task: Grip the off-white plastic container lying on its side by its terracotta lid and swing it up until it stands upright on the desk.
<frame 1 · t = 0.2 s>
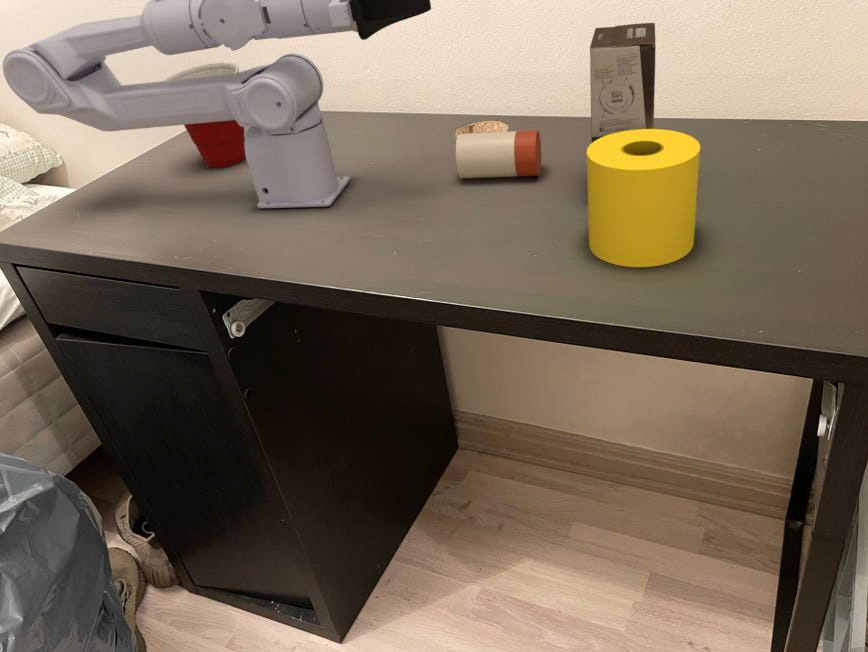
container: (499, 154, 88), point 3 cm above the table, hinge at -90.0°
coffee box: (623, 186, 84), on the table
yellow paper roll: (640, 243, 72), on the table
plastic cup: (226, 162, 105), on the table
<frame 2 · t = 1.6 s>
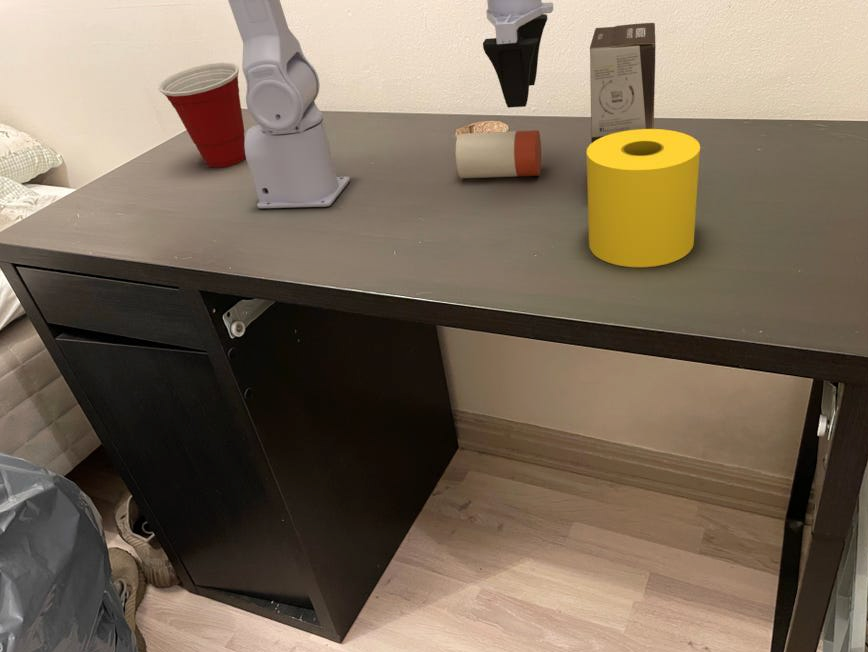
hand: (521, 95, 84), 9 cm above the table, tool pointing down, fingers open, 7 cm apart
nothing on the table moved.
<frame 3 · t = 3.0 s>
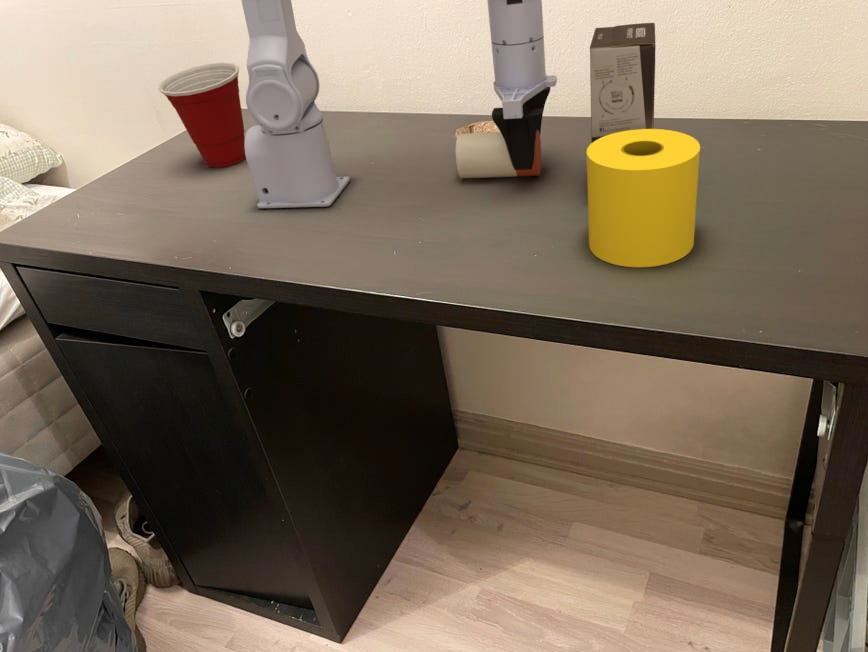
hand: (526, 159, 88), 2 cm above the table, tool pointing down, fingers closed on container, 5 cm apart
container: (499, 154, 88), point 3 cm above the table, hinge at -90.0°, touching gripper
everything else where it was.
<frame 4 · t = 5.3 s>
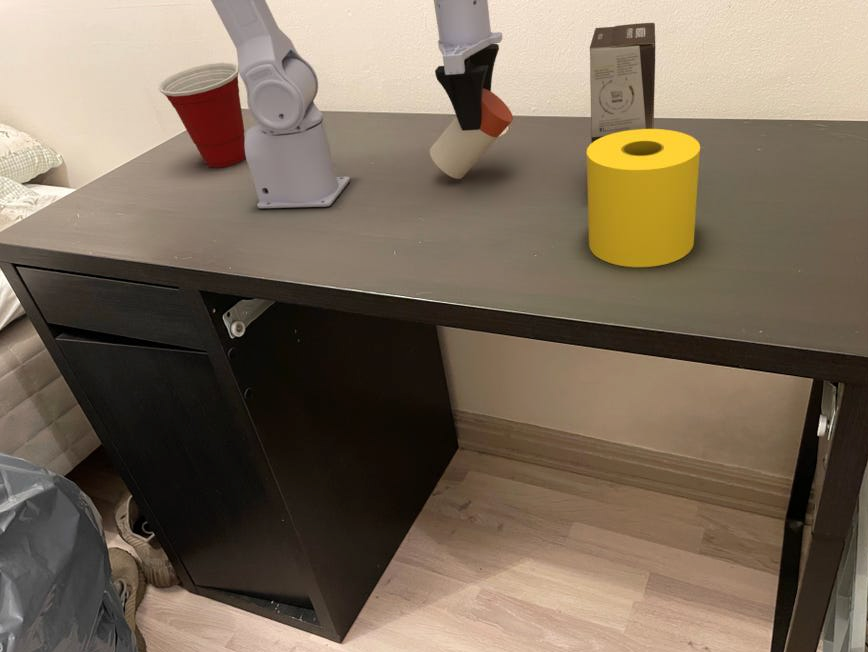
hand: (475, 120, 86), 7 cm above the table, tool pointing down, fingers closed on container, 5 cm apart
container: (470, 134, 87), point 5 cm above the table, hinge at -45.4°, touching gripper
everything else where it was.
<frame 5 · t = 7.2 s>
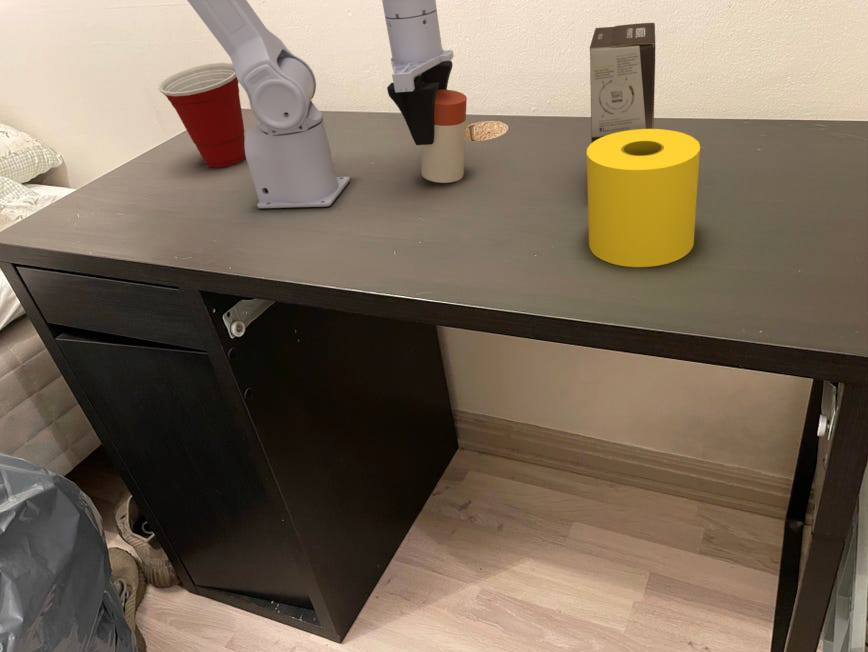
hand: (430, 135, 88), 5 cm above the table, tool pointing down, fingers closed on container, 5 cm apart
container: (443, 136, 88), point 5 cm above the table, hinge at -9.4°, touching gripper
everything else where it was.
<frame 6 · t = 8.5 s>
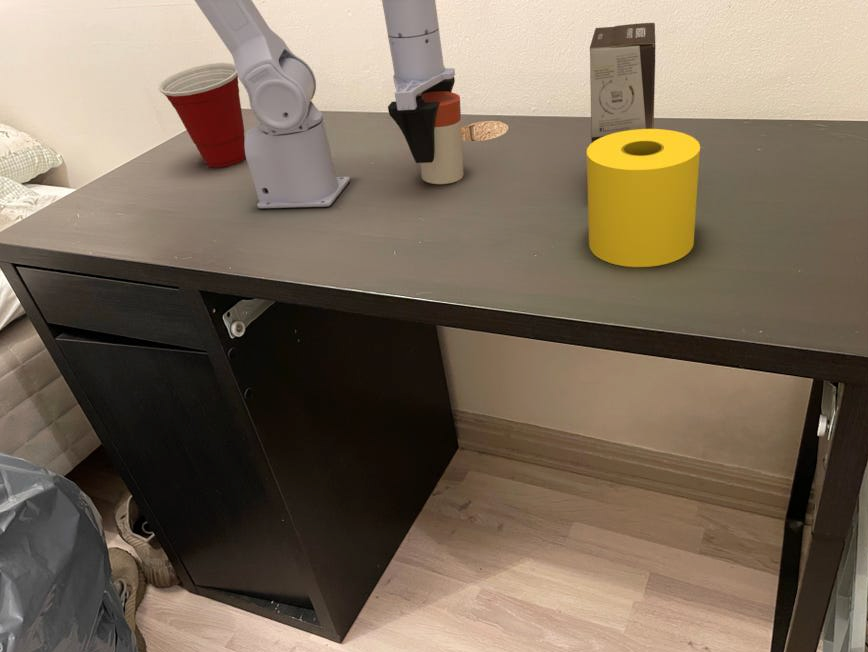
hand: (431, 150, 89), 3 cm above the table, tool pointing down, fingers open, 6 cm apart
container: (440, 138, 88), point 5 cm above the table, hinge at -4.6°
everything else where it was.
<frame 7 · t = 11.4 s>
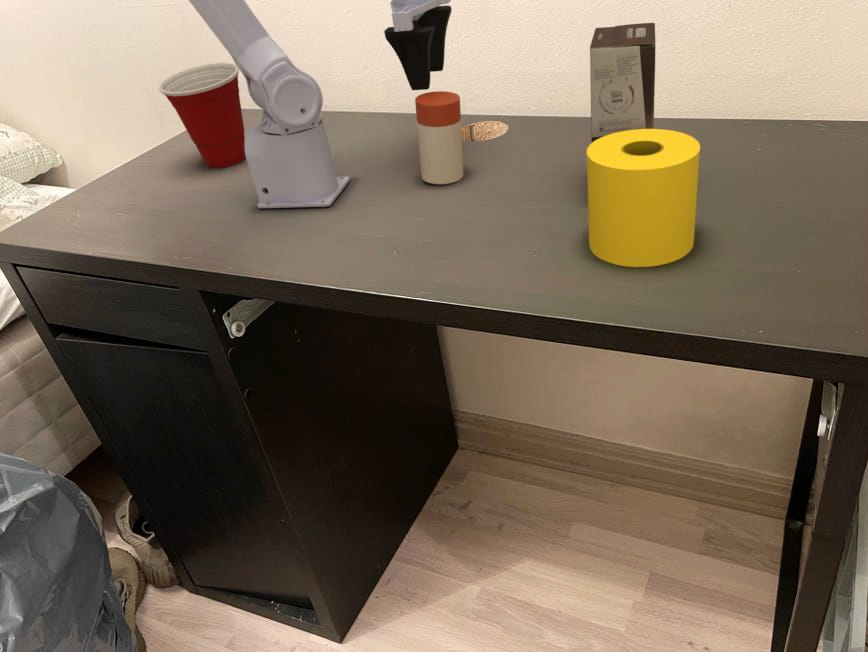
hand: (428, 79, 91), 10 cm above the table, tool pointing down, fingers open, 7 cm apart
nothing on the table moved.
at the end: container at -5° (first picture: -90°); container tilted 5° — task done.
